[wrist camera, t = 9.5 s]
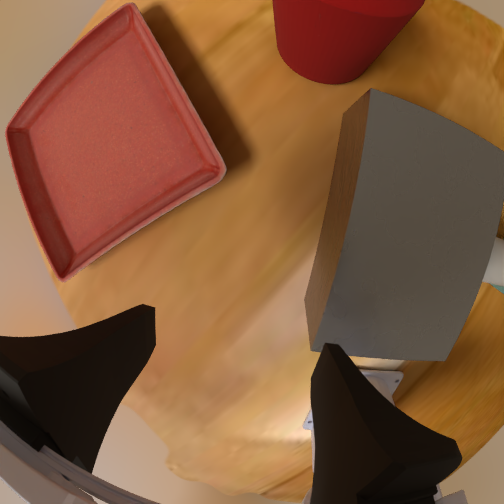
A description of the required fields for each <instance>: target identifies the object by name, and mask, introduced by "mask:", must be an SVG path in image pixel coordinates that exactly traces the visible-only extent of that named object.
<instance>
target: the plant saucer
mask: <svg viewBox="0 0 504 504" xmlns="http://www.w3.org/2000/svg"><path fill="white" fill-rule="evenodd" d="M5 137H6V141H7V145H8V150H9V155H10V158H11V162H12V167H13V170H14V173H15V177H16V180H17V184H18V187H19V190H20V193H21V196H22V199H23V202H24V205H25V208H26V211H27V213H28V216H29V219H30V221H31V223H32V226H33V228H34V231H35V233H36V235H37V237H38V240H39V242H40V245H41V247H42V249H43V251H44V253H45V255H46V257H47V259H48V261H49V263H50V265H51V267H52V269H53V271H54V273H55V275H56V277H57V278H58V280H59V281H61V282H66V281H68V280H69V279H70V278H72V277H73V276H74V275H76V274H77V273H78V272H79V271H81V270H82V269H84V268H85V267H86V266H88V265H89V264H90V263H92V262H93V261H95V260H96V259H97V258H99V257H100V256H102V255H103V254H104V253H106V252H107V251H109V250H110V249H112V248H113V247H114V246H116V245H118V244H119V243H120V242H122V241H123V240H125V239H126V238H128V237H129V236H131V235H132V234H134V233H136V232H137V231H139V230H140V229H141V228H143V227H145V226H146V225H148V224H150V223H151V222H153V221H154V220H156V219H157V218H159V217H161V216H162V215H164V214H166V213H167V212H169V211H170V210H172V209H174V208H175V207H177V206H179V205H181V204H182V203H184V202H186V201H187V200H189V199H191V198H193V197H194V196H196V195H198V194H200V193H202V192H203V191H205V190H206V189H208V188H210V187H212V186H214V185H215V184H217V183H219V182H220V181H221V180H222V179H223V178H224V176H225V175H226V171H227V168H226V164H225V162H224V160H223V158H222V156H221V155H220V153H219V151H218V149H217V148H216V146H215V144H214V142H213V140H212V138H211V136H210V135H209V133H208V131H207V129H206V127H205V126H204V124H203V122H202V120H201V118H200V117H199V115H198V113H197V111H196V109H195V108H194V106H193V104H192V102H191V101H190V99H189V97H188V95H187V93H186V91H185V90H184V88H183V86H182V85H181V83H180V81H179V79H178V77H177V76H176V74H175V72H174V70H173V68H172V67H171V65H170V63H169V62H168V60H167V58H166V56H165V54H164V52H163V51H162V49H161V47H160V45H159V44H158V42H157V40H156V39H155V37H154V35H153V34H152V32H151V30H150V28H149V27H148V25H147V23H146V22H145V20H144V18H143V16H142V15H141V13H140V11H139V10H138V8H137V6H136V5H135V4H134V3H126V4H124V5H123V6H121V7H120V8H118V9H117V10H116V11H114V12H113V13H112V14H110V15H109V16H107V17H106V18H105V19H104V20H102V21H101V22H100V23H99V24H98V25H96V26H95V27H94V28H93V29H92V30H90V31H89V32H88V33H87V34H86V35H85V36H83V37H82V38H81V39H80V40H79V41H78V42H77V43H76V44H75V45H74V46H73V47H72V48H71V49H70V50H69V51H68V52H67V53H65V54H64V55H63V56H62V57H61V59H60V60H59V61H58V62H57V63H56V64H55V65H54V66H53V67H52V68H51V69H50V70H49V71H48V72H47V74H46V75H45V76H44V77H43V78H42V79H41V81H40V82H39V83H38V84H37V85H36V86H35V88H34V89H33V90H32V91H31V93H30V94H29V95H28V97H27V98H26V99H25V101H24V102H23V103H22V105H21V106H20V107H19V109H18V110H17V111H16V113H15V114H14V116H13V117H12V119H11V120H10V122H9V123H8V125H7V127H6V131H5Z"/></svg>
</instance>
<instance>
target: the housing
mask: <svg viewBox="0 0 504 504" xmlns="http://www.w3.org/2000/svg"><path fill="white" fill-rule="evenodd" d="M503 202H504V152H503V151H502V150H500V149H499V148H497V147H496V146H494V145H493V144H491V143H490V142H488V141H486V140H485V139H483V138H481V137H480V136H478V135H476V134H475V133H473V132H471V131H469V130H468V129H466V128H464V127H462V126H460V125H458V124H456V123H454V122H453V121H451V120H449V119H447V118H445V117H442V116H440V115H438V114H436V113H434V112H432V111H430V110H427V109H425V108H423V107H420V106H418V105H416V104H413V103H411V102H408V101H406V100H403V99H401V98H398V97H395V96H392V95H390V94H387V93H384V92H381V91H378V90H375V89H372V88H371V89H369V90H368V91H367V92H366V93H365V94H364V95H363V96H362V97H361V98H360V99H358V100H357V101H356V102H355V103H354V104H353V105H352V106H351V107H350V108H349V109H348V110H347V111H345V112H344V113H343V118H342V124H341V131H340V137H339V143H338V149H337V155H336V161H335V166H334V172H333V177H332V183H331V188H330V193H329V198H328V203H327V207H326V212H325V217H324V221H323V226H322V230H321V235H320V239H319V243H318V248H317V252H316V256H315V260H314V264H313V268H312V272H311V276H310V280H309V284H308V288H307V291H306V295H305V299H304V301H305V308H306V316H307V324H308V332H309V340H310V349H311V351H315V352H322V349H323V346H324V344H325V343H332V344H339V345H340V346H341V348H342V349H343V350H344V351H345V353H346V354H347V355H348V356H358V357H368V358H381V359H396V360H417V361H445V360H446V359H447V357H448V355H449V353H450V351H451V350H452V348H453V346H454V344H455V342H456V340H457V338H458V336H459V334H460V332H461V330H462V328H463V326H464V324H465V322H466V320H467V317H468V315H469V313H470V311H471V308H472V306H473V304H474V301H475V299H476V296H477V294H478V291H479V288H480V286H481V283H482V280H483V278H484V275H485V272H486V269H487V266H488V263H489V259H490V256H491V253H492V249H493V246H494V242H495V238H496V234H497V230H498V226H499V222H500V217H501V212H502V207H503Z"/></svg>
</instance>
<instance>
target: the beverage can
mask: <svg viewBox="0 0 504 504" xmlns="http://www.w3.org/2000/svg"><path fill="white" fill-rule="evenodd" d="M272 1H273V11H274V21H275V31H276V40H277V47H278V51H279V53H280V55H281V57H282V59H283V60H284V62H285V63H286V64H287V65H288V66H289V67H290V68H291V69H292V70H293V71H295V72H296V73H298V74H299V75H301V76H303V77H305V78H307V79H309V80H312V81H315V82H319V83H324V84H341V83H346V82H349V81H352V80H354V79H356V78H357V77H359V76H360V75H361V74H362V73H363V72H364V71H365V70H366V69H367V68H368V67H369V66H370V65H371V64H372V63H373V61H374V60H375V59H376V58H377V57H378V56H379V55H380V54H381V52H382V51H383V50H384V49H385V48H386V47H387V46H388V45H389V43H390V42H391V41H392V40H393V39H394V38H395V37H396V35H397V34H398V33H399V32H400V31H401V30H402V29H403V27H404V26H405V25H406V24H407V23H408V22H409V20H410V19H411V18H412V17H413V16H414V15H415V14H416V12H417V11H418V10H419V9H420V8H421V7H422V5H423V4H424V1H425V0H272Z"/></svg>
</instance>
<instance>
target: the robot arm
mask: <svg viewBox="0 0 504 504" xmlns="http://www.w3.org/2000/svg"><path fill="white" fill-rule="evenodd" d="M155 346H156V333H155V307H151V306H148V305H144V304H141V305H138V306H136V307H133V308H131V309H129V310H126V311H124V312H122V313H119V314H117V315H115V316H112V317H110V318H107V319H105V320H102V321H100V322H97V323H94V324H91V325H89V326H86V327H83V328H79V329H76V330H72V331H68V332H64V333H58V334H52V335H45V336H36V337H7V336H0V479H1V480H2V481H3V482H4V483H5V484H6V485H7V486H8V487H9V488H11V489H12V490H13V491H14V492H15V493H16V494H18V496H19V497H20V498H22V499H23V500H24V501H25V502H26V503H28V504H97V503H96V502H95V501H94V499H93V498H92V496H90V495H88V494H87V493H89V494H91V495H93V496H95V497H96V498H98V499H100V500H102V501H104V502H106V503H109V504H160V503H156V502H154V501H151V500H148V499H146V498H143V497H140V496H138V495H135V494H133V493H130V492H128V491H126V490H123V489H121V488H119V487H117V486H114V485H112V484H110V483H108V482H106V481H104V480H102V479H100V478H98V477H96V476H94V475H92V471H93V468H94V464H95V461H96V458H97V455H98V452H99V449H100V447H101V444H102V441H103V439H104V436H105V434H106V432H107V429H108V427H109V425H110V422H111V420H112V418H113V416H114V414H115V412H116V410H117V408H118V406H119V404H120V402H121V401H122V399H123V397H124V396H125V394H126V393H127V392H128V390H129V389H130V387H131V386H132V384H133V383H134V381H135V380H136V378H137V377H138V376H139V374H140V373H141V371H142V370H143V368H144V367H145V365H146V364H147V362H148V360H149V358H150V356H151V354H152V352H153V350H154V348H155ZM403 376H404V375H403V373H402V372H400V371H378V370H363V369H358V368H357V366H356V365H355V364H354V363H353V361H352V360H351V359H350V358H349V356H348V355H347V354H346V353H345V351H344V350H343V349H342V348H341V346H340V345H339V344H332V343H325V344H324V346H323V349H322V352H321V354H320V357H319V359H318V362H317V364H316V367H315V369H314V372H313V374H312V377H311V397H310V398H311V409H310V411H309V413H308V415H307V417H306V419H305V421H304V423H303V428H304V429H308V430H311V436H312V465H313V473H314V475H313V485H312V488H311V489H309V490H308V492H307V493H306V495H305V497H304V499H303V501H302V504H468V503H467V500H466V496H465V493H464V491H463V490H460V491H458V492H455V493H453V494H450V495H447V496H445V497H442V493H441V489H440V486H439V483H440V482H441V481H442V480H444V479H445V478H446V477H447V476H449V475H450V474H451V473H452V472H453V471H454V470H455V469H456V468H457V467H458V466H459V465H460V463H461V461H462V455H461V453H460V450H459V448H458V446H457V443H456V441H455V440H454V439H451V438H449V437H446V436H444V435H442V434H439V433H437V432H435V431H433V430H431V429H429V428H427V427H425V426H423V425H422V424H420V423H418V422H417V421H415V420H413V419H412V418H411V417H409V416H408V415H406V414H405V413H403V412H402V411H401V410H399V409H398V408H397V407H396V406H395V404H394V401H393V398H392V394H393V393H394V391H395V390H396V388H397V387H398V385H399V383H400V382H401V380H402V378H403ZM76 486H77V487H76ZM79 488H80V489H79ZM81 489H82V490H83V491H82V490H81ZM84 491H85V492H87V493H85V492H84Z"/></svg>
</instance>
